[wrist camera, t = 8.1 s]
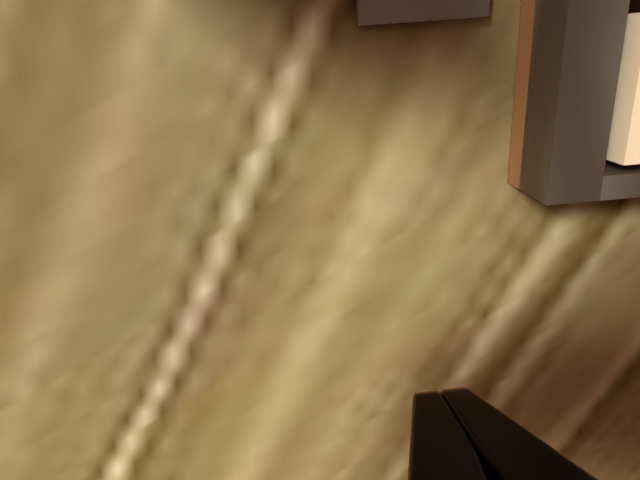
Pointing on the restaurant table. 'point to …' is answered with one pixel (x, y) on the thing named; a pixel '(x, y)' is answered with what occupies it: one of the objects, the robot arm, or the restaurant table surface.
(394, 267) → the restaurant table surface
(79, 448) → the restaurant table surface
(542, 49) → the keypad
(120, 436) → the restaurant table surface
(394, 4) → the tile
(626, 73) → the key ivory
